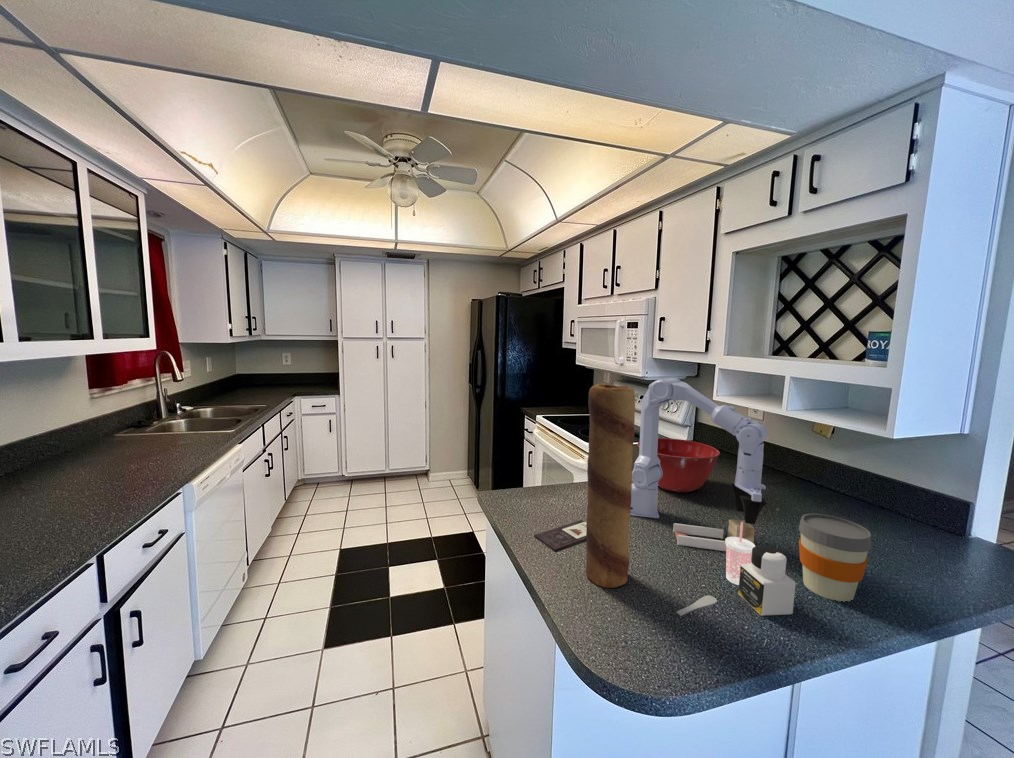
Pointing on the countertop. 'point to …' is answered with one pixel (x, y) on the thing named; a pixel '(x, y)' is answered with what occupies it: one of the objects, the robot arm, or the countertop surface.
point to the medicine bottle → (767, 582)
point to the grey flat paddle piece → (699, 604)
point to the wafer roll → (609, 483)
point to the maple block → (735, 530)
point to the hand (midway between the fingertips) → (745, 517)
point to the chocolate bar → (564, 535)
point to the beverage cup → (737, 555)
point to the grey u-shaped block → (685, 540)
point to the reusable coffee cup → (833, 555)
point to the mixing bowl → (684, 464)
